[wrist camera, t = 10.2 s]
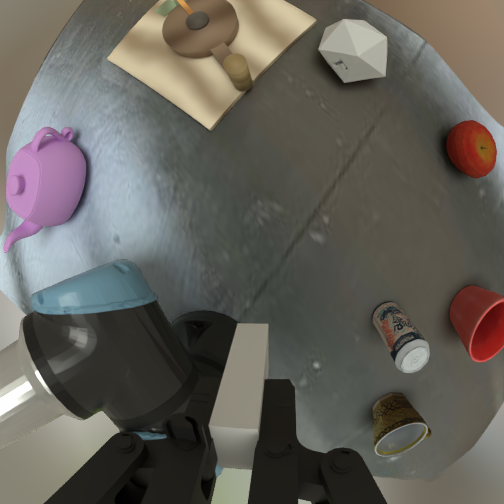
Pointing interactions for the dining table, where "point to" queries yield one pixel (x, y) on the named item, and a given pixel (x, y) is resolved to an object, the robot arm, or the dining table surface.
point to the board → (208, 68)
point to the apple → (471, 148)
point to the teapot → (45, 182)
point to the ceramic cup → (397, 425)
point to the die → (354, 50)
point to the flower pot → (479, 321)
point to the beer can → (401, 338)
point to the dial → (207, 36)
